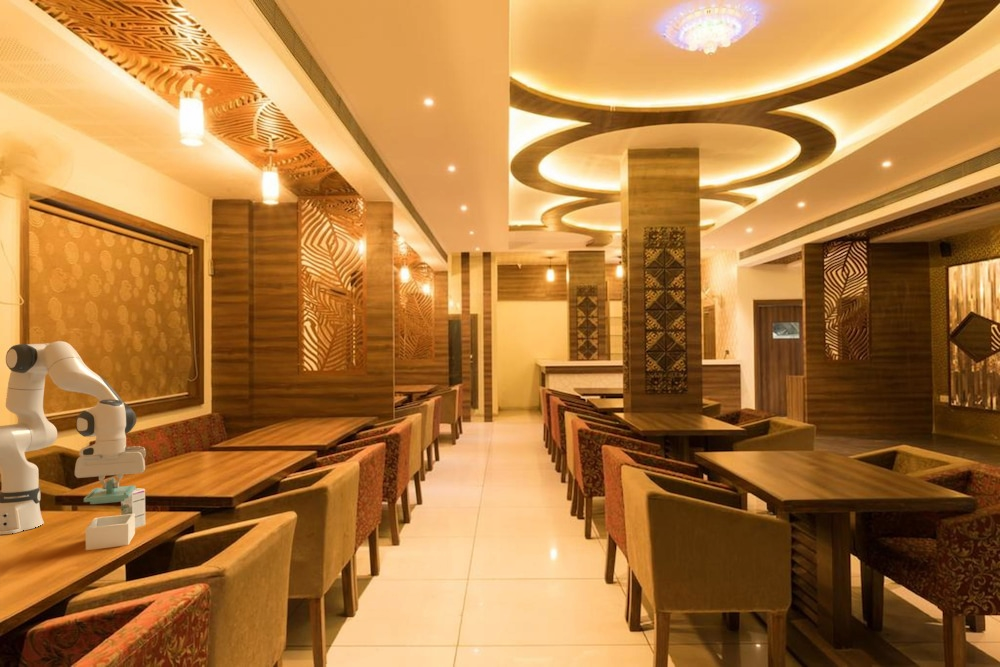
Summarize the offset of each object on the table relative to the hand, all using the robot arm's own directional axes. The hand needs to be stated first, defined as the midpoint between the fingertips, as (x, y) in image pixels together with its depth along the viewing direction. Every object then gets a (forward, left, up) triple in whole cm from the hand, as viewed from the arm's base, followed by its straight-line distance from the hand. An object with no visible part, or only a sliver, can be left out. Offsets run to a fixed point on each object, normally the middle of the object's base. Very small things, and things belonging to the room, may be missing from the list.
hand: (110, 488), depth 209 cm
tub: (0, 0, -19) cm, 19 cm away
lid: (0, 0, -4) cm, 4 cm away
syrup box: (+4, +18, -19) cm, 27 cm away
